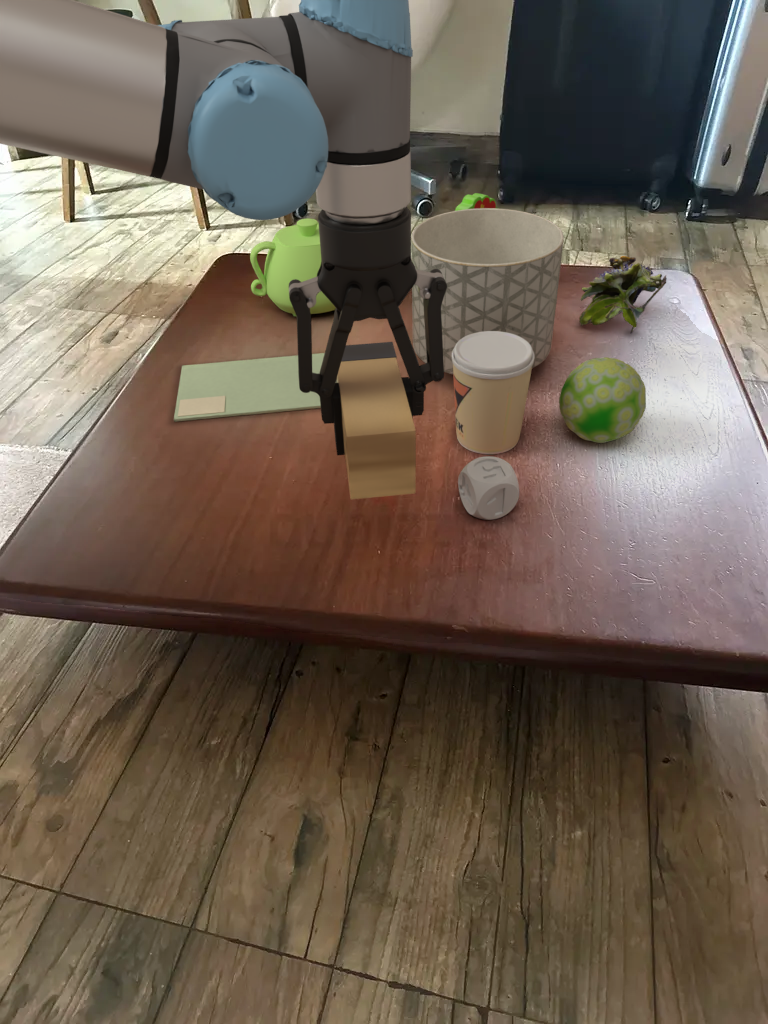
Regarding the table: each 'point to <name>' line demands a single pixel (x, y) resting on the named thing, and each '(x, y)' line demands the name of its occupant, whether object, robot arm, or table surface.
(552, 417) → the table surface
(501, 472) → the die
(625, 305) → the passion flower
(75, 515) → the table surface
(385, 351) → the beech block
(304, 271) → the teapot
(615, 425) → the decorative ball
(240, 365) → the envelope
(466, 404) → the coffee cup
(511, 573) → the table surface
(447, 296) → the planter
